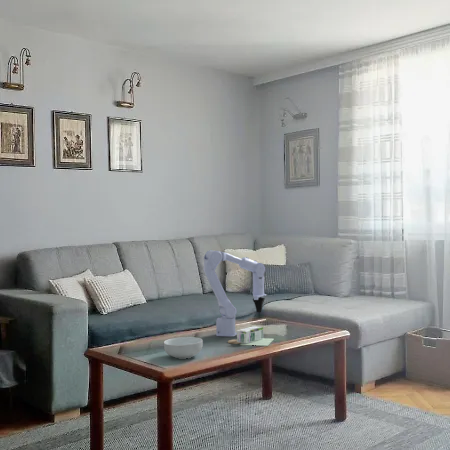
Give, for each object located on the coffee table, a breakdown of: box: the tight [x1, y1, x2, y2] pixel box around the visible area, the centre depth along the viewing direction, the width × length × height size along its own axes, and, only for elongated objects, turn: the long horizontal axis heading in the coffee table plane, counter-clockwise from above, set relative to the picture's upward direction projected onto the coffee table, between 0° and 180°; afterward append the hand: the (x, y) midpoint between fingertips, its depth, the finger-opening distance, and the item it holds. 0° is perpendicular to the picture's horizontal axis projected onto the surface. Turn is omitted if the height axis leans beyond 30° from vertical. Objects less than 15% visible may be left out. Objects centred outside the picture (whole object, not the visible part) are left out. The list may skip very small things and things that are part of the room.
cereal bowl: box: [163, 336, 204, 360], centre depth 249 cm, size 17×17×7 cm
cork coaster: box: [227, 338, 241, 345], centre depth 277 cm, size 8×8×1 cm
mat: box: [239, 337, 275, 347], centre depth 276 cm, size 13×16×1 cm
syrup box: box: [236, 325, 264, 343], centre depth 278 cm, size 6×6×14 cm
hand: (259, 312), depth 301 cm, fingers closed
